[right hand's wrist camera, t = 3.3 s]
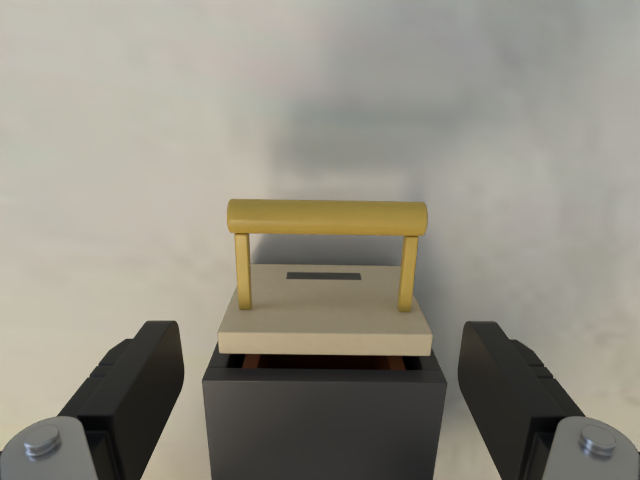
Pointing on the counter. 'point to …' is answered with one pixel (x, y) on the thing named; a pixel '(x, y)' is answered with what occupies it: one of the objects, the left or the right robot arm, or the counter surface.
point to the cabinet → (323, 421)
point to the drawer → (325, 290)
